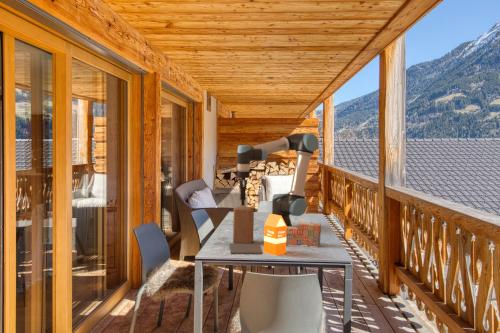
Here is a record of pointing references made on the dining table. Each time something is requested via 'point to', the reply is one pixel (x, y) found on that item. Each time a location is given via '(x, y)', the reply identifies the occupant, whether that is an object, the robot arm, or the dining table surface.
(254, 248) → the mat
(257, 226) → the dining table surface
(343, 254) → the dining table surface
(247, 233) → the wooden block
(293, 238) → the stack of blocks
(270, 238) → the orange juice
